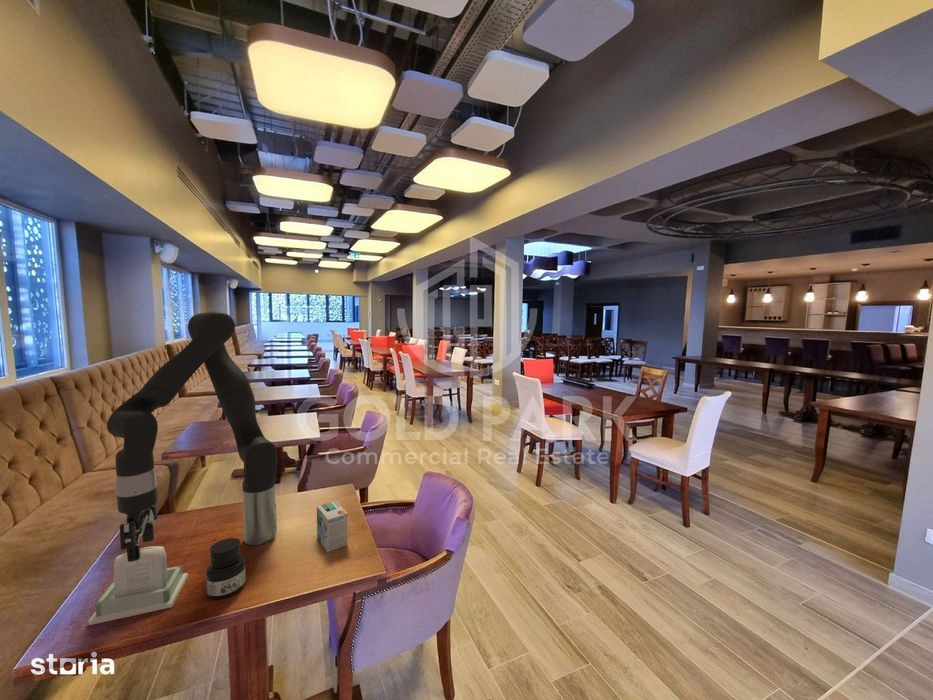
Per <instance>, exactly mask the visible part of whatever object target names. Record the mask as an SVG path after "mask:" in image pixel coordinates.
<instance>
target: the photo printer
mask: <svg viewBox="0 0 933 700" xmlns="http://www.w3.org/2000/svg"><path fill="white" fill-rule="evenodd" d="M167 566H168V565H167V552H166V548H165V546H161V545H158V546H156V545H154V546H153V545H151V546H144V547H140V558H139V560H137V561H132V562H129V561H128V559H127V551H126V552H123V553H122V554H119V555H118V556H116V558H115V560H114V564H113V582H114V596H115V598H120V597H125V596H130V595H135V594H140V593H145V592H150V591H155V590H160V589H165V587H166V586H167V568H168V567H167Z"/></svg>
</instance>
